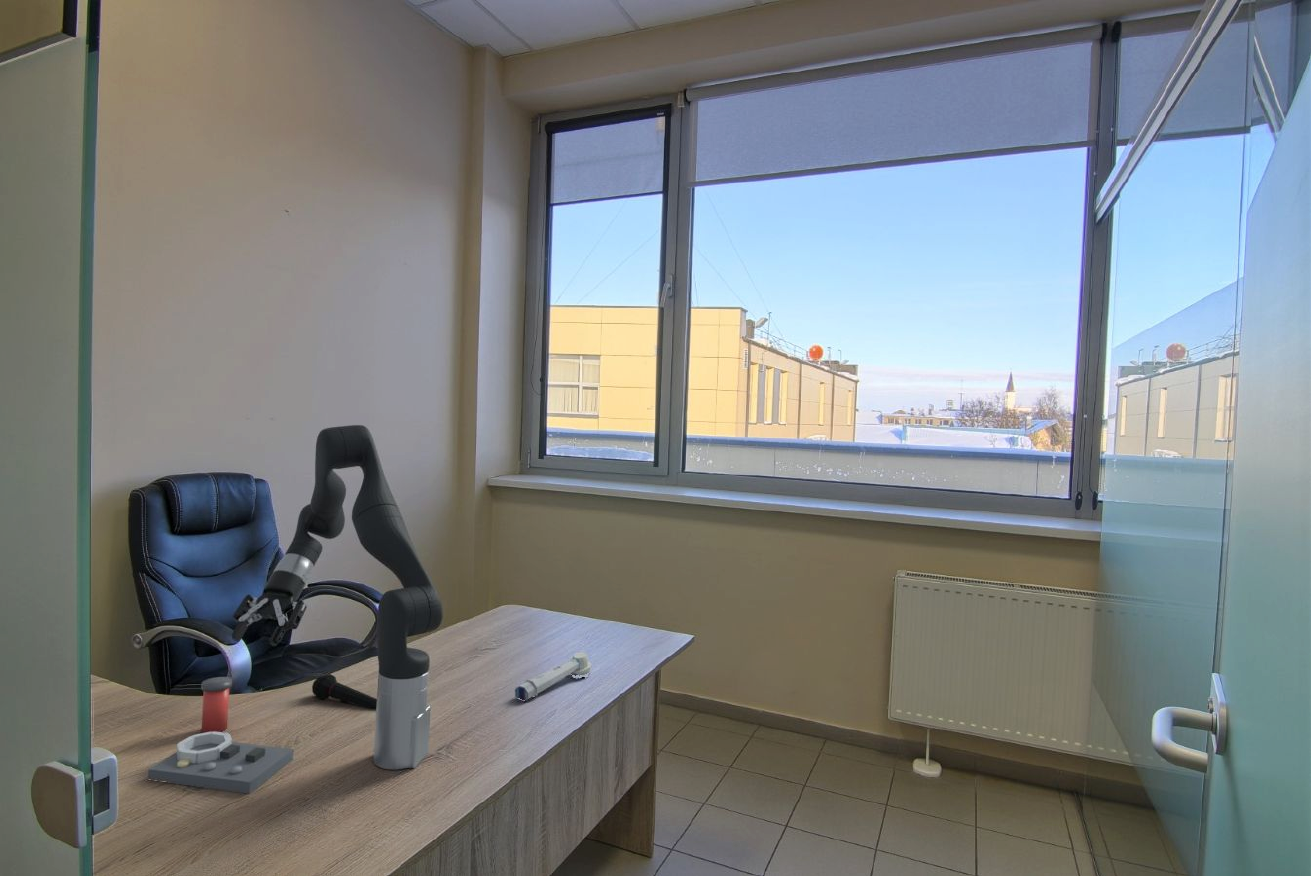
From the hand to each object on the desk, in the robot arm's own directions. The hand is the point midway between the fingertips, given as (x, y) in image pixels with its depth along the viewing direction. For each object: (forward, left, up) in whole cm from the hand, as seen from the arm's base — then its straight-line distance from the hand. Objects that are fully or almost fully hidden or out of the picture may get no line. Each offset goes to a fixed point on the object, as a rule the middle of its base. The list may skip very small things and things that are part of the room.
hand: (253, 642), depth 149 cm
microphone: (-18, -8, -15) cm, 25 cm away
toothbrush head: (-61, -30, -15) cm, 69 cm away
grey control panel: (-12, +24, -15) cm, 30 cm away
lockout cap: (0, +11, -15) cm, 18 cm away
